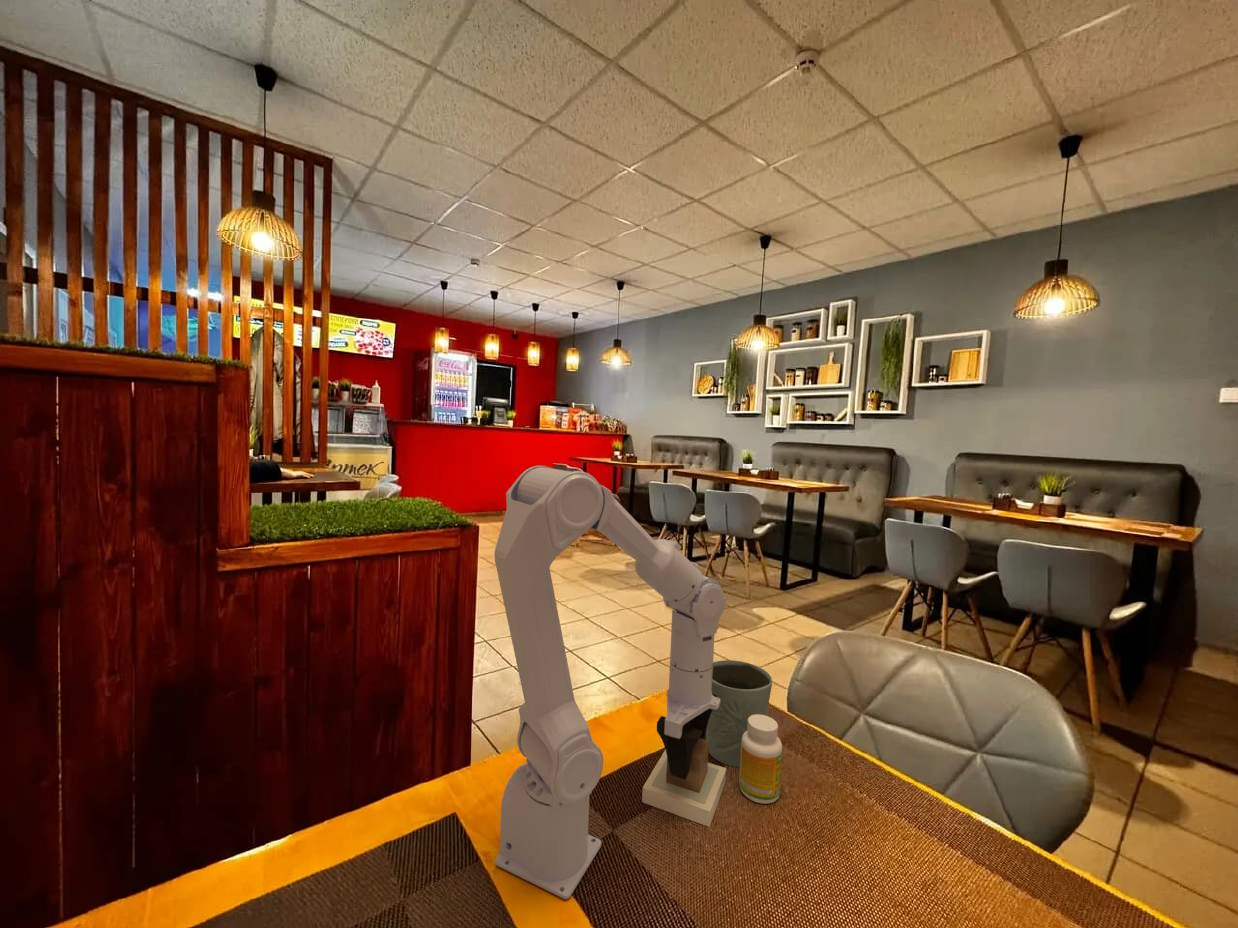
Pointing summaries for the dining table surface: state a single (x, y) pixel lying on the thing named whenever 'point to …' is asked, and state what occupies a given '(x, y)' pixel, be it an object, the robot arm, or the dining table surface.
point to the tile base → (685, 793)
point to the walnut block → (693, 768)
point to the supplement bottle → (761, 760)
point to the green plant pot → (735, 706)
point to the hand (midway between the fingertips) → (686, 760)
